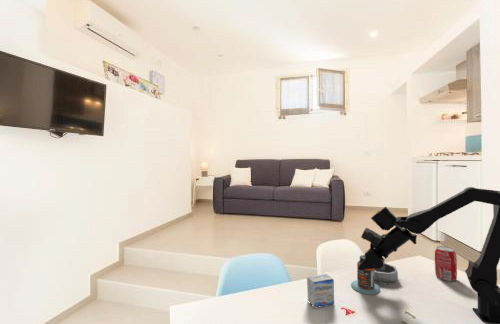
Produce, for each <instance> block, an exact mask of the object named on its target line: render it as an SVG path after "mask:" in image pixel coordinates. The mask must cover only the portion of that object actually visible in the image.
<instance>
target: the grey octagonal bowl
mask: <svg viewBox="0 0 500 324" xmlns="http://www.w3.org/2000/svg"><path fill="white" fill-rule="evenodd" d="M398 277H399V273H398V269H397V267H396V266H394V265H391V264H389V263H384V266H383V267H382V268H380V269H376V268H375V269H374V283H379V284H387V285H391V284H395V283H398V282H399V279H398Z"/></svg>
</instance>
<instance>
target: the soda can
mask: <svg viewBox="0 0 500 324" xmlns="http://www.w3.org/2000/svg"><path fill="white" fill-rule="evenodd" d="M457 261H458V259H457V253H456V251H455V249H454V248H452V247H449V246H444V245H441V246H440V245H439V246H436V248H435V250H434V273H435V276H436V277H437V278H439V279H441V280H443V281H447V282H453V281H456V280H457V277H458V262H457Z"/></svg>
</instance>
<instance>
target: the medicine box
mask: <svg viewBox="0 0 500 324" xmlns="http://www.w3.org/2000/svg"><path fill="white" fill-rule="evenodd" d="M306 280H307V281H306V284H307V285H306V286H307V289H306V290H307V302H308V301H309V302H310V303H311V304H312V305H313V306H314V307H318V308H320V307H319V306H323V307H326V305H327V306H331V304H332V305H335V281H334V278H333V277H331V276H330V275H328V274H321V275H320V274H319V275H316V276H315V275H314V276H308V277H306ZM309 302H308V303H309ZM310 303H309V304H310ZM311 304H310V305H311ZM312 305H311V306H312ZM313 306H312V307H313ZM314 307H313V308H314Z"/></svg>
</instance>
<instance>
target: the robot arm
mask: <svg viewBox="0 0 500 324" xmlns="http://www.w3.org/2000/svg"><path fill="white" fill-rule="evenodd" d="M473 202H479V203H485V204H489V205H493V206H492V208H493V209H492V210H493V218H492V220H491V222H490V226H489V229H488V230H487V231H488V232H487V234H486V237H485V240H484V242H483V246H482V249H481V251H480V255H479V257H478V259H476V261H472V260H468V266H467V268H466V269H465V271H464V272H465V274H466V276H467V277H466V278H467V280H468V282H469V284H470V287H471V288H472V290H473V291H474V292H476V293H477V294H476V295H477V300H476V301H477V307H472V310H473V312H474V313H475V315H476V316H478V318H479V319H480V320H481V321H482V322H484V323H491V324H500V286H499V285H498V265H499V263H500V190H493V189H486V188H485V189H484V188H476V187H472V186H468V187H466V188H464V189H463V190H461V191H460V192H458V193H456V194H454V195H452V196H451V197H448V198H447V199H445V200H443V201H441V202H440V203H437V204H436V205H434V206H432V207H429V208H428V209H424V210H423V209H422V210H420V211H417V212H413V213H411V214H409V215H408V216H396V215H395V214H393V213H392V212H391V210H390V209H389V208H388V207H387V206H384V207H383V208H382V209H380V210H378V211H376V213H375V214H374V215H372V216H371V217H370V219H371V220H372V221H373V223H375V224H376V225H377V226H378V227H379V229H381V230H382V231H388V233H383V234H382V235H380V234H379V233H377V232H375V231H374V230H372V229H370V228H368V227H366V228H365V229H364V230H363V232H362V234H361V236H360V237H361V239H363V240H365V241H367V242H369V243H370V244H369V249H368V250H367V251H365V253H364V255H365V259H364V260H363V262H362V263H361V264H360V265H359V266H358V269H359V270H365V269H375V268H376V269H380V268H382V267H383V266H384V263H385V260H386V259H388V257H389V255H391V254H392V253H396V252H397V251H398V249H399V248H400V247H402V246H403V245H405V244H406V243H407V242H409V241H410V242H412V243H413V244H414V245H416V244H417V238H418V235H420V234H422V233H424V232H425V231H426V230H427V229H429V228H431V226H432V225H433V224H435V222H437V221H439V220H440V219H442V218H444V217H446V216H447V215H450V214H453V213H454V212H456V211H457V210H460V209H462V208H463V207H466V206H467V205H470V204H472V203H473Z"/></svg>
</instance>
